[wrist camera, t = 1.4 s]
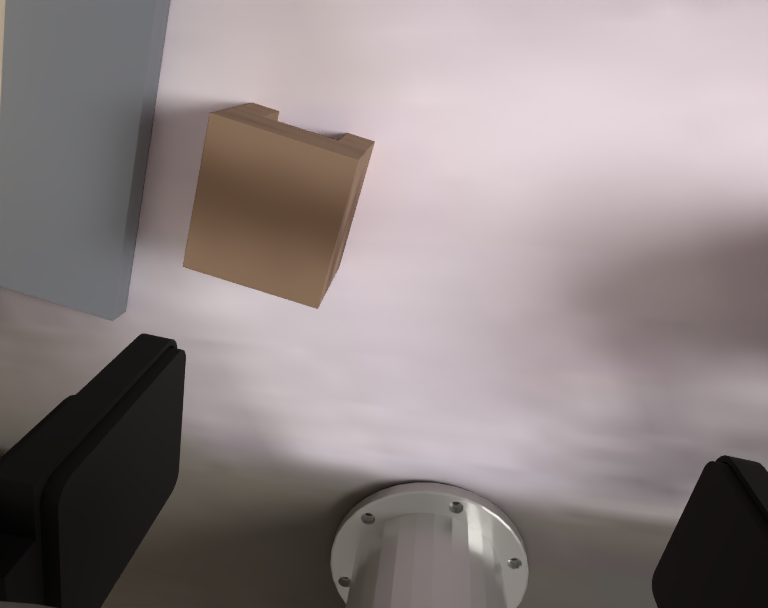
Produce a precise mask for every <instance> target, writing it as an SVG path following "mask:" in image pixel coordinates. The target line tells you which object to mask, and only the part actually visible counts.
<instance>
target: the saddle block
mask: <svg viewBox="0 0 768 608" xmlns="http://www.w3.org/2000/svg"><path fill="white" fill-rule="evenodd" d="M278 115H279V111H277V110H274V109H271V108H268V107H265V106H261V105H258V104H255V103H249V104H245V105H241V106H237V107H232V108H228V109H224V110H220V111H216V112H212V113H210V116H209V121H208V127H207V133H206V138H205V144H204V150H203V155H202V161H201V167H200V172H199V178H198V183H197V189H196V195H195V200H194V206H193V212H192V217H191V223H190V228H189V234H188V240H187V245H186V251H185V257H184V262H183V267H185V268H188V269H192V270H195V271H198V272H201V273H204V274H208V275H211V276H214V277H217V278H221V279H224V280H227V281H230V282H233V283H237V284H240V285H243V286H246V287H249V288H253V289H256V290H259V291H262V292H265V293H269V294H272V295H275V296H278V297H281V298H285V299H288V300H291V301H294V302H297V303H301V304H304V305H307V306H310V307H313V308H317V309H318V307H319V305H320V303H321V301H322V299H323V297H324V296H325V294H326V292H327V290H328V288H329V286H330V284H331V282H332V280H333V278H334V276H335V274H336V273H337V271H338V269H339V266H340V263H341V259H342V255H343V252H344V248H345V245H346V241H347V238H348V234H349V231H350V227H351V224H352V220H353V217H354V213H355V210H356V206H357V203H358V199H359V195H360V192H361V188H362V185H363V181H364V178H365V174H366V171H367V167H368V164H369V160H370V157H371V153H372V150H373V146H374V143H375V141H371V140H368V139H365V138H362V137H359V136H356V135H353V134H349V133H348V134H346V135H345V136H344V137H342V138H341V139H340V140H335V139H332V138H329V137H325V136H322V135H319V134H316V133H313V132H310V131H306V130H303V129H300V128H297V127H294V126H291V125H288V124H284V123H281V122H278V121H277V120H278Z"/></svg>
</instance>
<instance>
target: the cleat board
mask: <svg viewBox="0 0 768 608" xmlns="http://www.w3.org/2000/svg"><path fill="white" fill-rule="evenodd" d="M169 5H170V0H0V286H1V287H4V288H7V289H10V290H14V291H17V292H20V293H23V294H27V295H30V296H33V297H36V298H39V299H43V300H46V301H49V302H52V303H56V304H59V305H62V306H65V307H68V308H72V309H75V310H78V311H81V312H85V313H88V314H91V315H94V316H98V317H101V318H104V319H107V320H110V321H114V320H115V319H116V318H118V317H119V316H120V315H121V314H123V313H124V312H125V311H126V306H127V299H128V292H129V285H130V278H131V271H132V264H133V257H134V250H135V243H136V236H137V229H138V222H139V215H140V208H141V201H142V194H143V187H144V180H145V173H146V166H147V159H148V152H149V145H150V138H151V131H152V124H153V117H154V110H155V103H156V96H157V89H158V82H159V75H160V68H161V61H162V54H163V47H164V40H165V33H166V26H167V19H168V12H169Z"/></svg>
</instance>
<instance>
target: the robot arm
mask: <svg viewBox="0 0 768 608" xmlns="http://www.w3.org/2000/svg"><path fill="white" fill-rule="evenodd" d="M185 363H186V354H185V351H184V350H181V349H177V344H176V341H175V340H173V339H168V338H163V337H158V336H154V335H149V334H141V335H139V336H138V337H137V338H136V339H135V340H134V341H133V342H132V343H131V344H129V345H128V346H127V347H126V348H125V349H124V350H123V351H122V352H121V353H120V354H119V355H118V356H117V357H116V358H115V359H113V360H112V361H111V362H110V363H109V364H108V365H107V366H106V367H105V368H104V369H103V370H102V371H101V372H100V373H99V374H97V375H96V376H95V377H94V378H93V379H92V380H91V381H90V382H89V383H88V384H87V385H86V386H85V387H84V388H83V389H81V390H80V391H79V392H78V393H77V394H76V395H71V396H69V397H68V398H66V399H65V400H63V401H62V402H61V403H60V404H59V405H58V406H57V407H56V408H55V409H53V410H52V411H51V412H50V413H49V414H48V415H47V416H46V417H45V418H44V419H43V420H42V421H40V422H39V423H38V424H37V425H36V426H35V427H34V428H33V429H32V430H31V431H30V432H29V433H27V434H26V435H25V436H24V437H23V438H22V439H21V440H20V441H19V442H18V443H17V444H15V445H14V446H13V447H12V448H11V449H10V450H9V451H8V452H7V453H6V454H5V455H4V456H2V457H1V458H0V608H100V607H101V606H102V604H103V603H104V601H105V599H106V598H107V596H108V595H109V593H110V591H111V590H112V588H113V586H114V585H115V583H116V582H117V580H118V578H119V577H120V575H121V574H122V572H123V570H124V569H125V567H126V566H127V564H128V562H129V561H130V559H131V557H132V556H133V554H134V553H135V551H136V549H137V548H138V546H139V545H140V543H141V541H142V540H143V538H144V537H145V535H146V533H147V532H148V530H149V528H150V527H151V525H152V524H153V522H154V520H155V519H156V517H157V516H158V514H159V512H160V511H161V509H162V508H163V506H164V504H165V503H166V501H167V499H168V498H169V496H170V495H171V493H172V491H173V489H174V487H175V484H176V481H177V478H178V473H179V460H180V443H181V427H182V411H183V395H184V379H185ZM330 566H331V573H332V579H333V581H334V584H335V586H336V589H337V591H338V593H339V595H340V596H341V598H342V599H343V601H344V602H345V604H346V608H517V607H518V605H519V604H520V602H521V601H522V598H523V596H524V593H525V591H526V588H527V582H528V573H529V571H528V563H527V555H526V551H525V547H524V543H523V540H522V538H521V536H520V534H519V532H518V531H517V529H516V527H515V525H514V524H513V523H512V522H511V521H510V520H509V518H508V517H507V516H506V515H505V514H504V513H503V512H502V511H501V510H500V509H498V508H497V507H496V506H495V505H493V504H492V503H491V502H489V501H487V500H486V499H484V498H482V497H480V496H478V495H477V494H475V493H472V492H470V491H467V490H464V489H461V488H458V487H455V486H450V485H444V484H439V483H409V484H402V485H396V486H393V487H390V488H386V489H383V490H380V491H378V492H376V493H374V494H372V495H370V496H368V497H367V498H365V499H363V500H362V501H361V502H360V503H358V504H357V505H356V506H355V507H353V508H352V509H351V510H350V511H349V513H348V514H347V515H346V516H345V518H344V519H343V520H342V522H341V524H340V526H339V528H338V530H337V532H336V534H335V538H334V542H333V546H332V550H331V561H330ZM652 591H653V595H654V598H655V601H656V604H657V607H658V608H768V472H767V471H766V469H765V468H764V467H763V466H762V465H761V464H760V463H758V462H754V461H750V460H745V459H740V458H735V457H730V456H726V455H724V456H721V457H719V458H718V459H717V460H716V462H714V461H711V462H709V463H707V464H706V466H705V467H704V469H703V471H702V473H701V475H700V478H699V480H698V482H697V484H696V486H695V488H694V490H693V492H692V494H691V496H690V498H689V501H688V503H687V505H686V507H685V509H684V511H683V513H682V515H681V517H680V519H679V521H678V524H677V526H676V528H675V530H674V532H673V534H672V536H671V538H670V540H669V542H668V544H667V547H666V549H665V551H664V553H663V555H662V557H661V559H660V561H659V563H658V565H657V567H656V569H655V572H654V575H653V579H652Z"/></svg>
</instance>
